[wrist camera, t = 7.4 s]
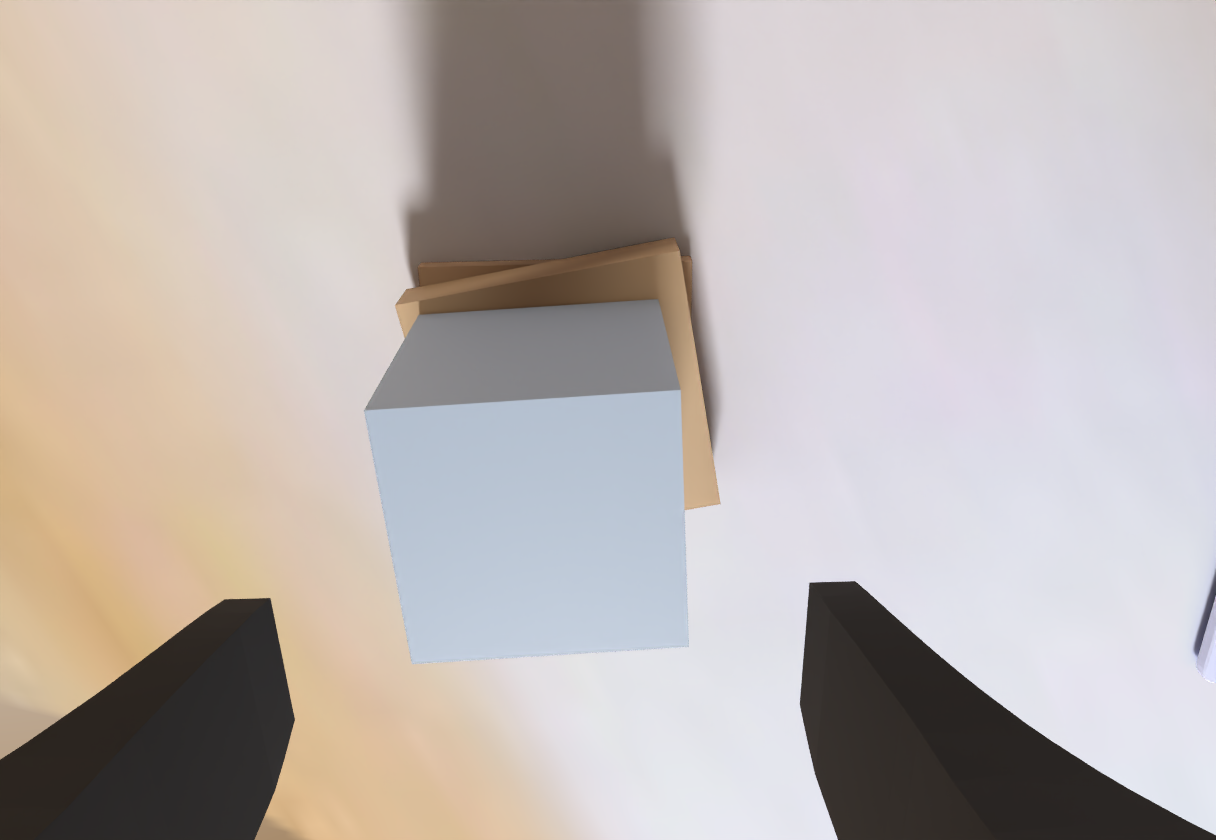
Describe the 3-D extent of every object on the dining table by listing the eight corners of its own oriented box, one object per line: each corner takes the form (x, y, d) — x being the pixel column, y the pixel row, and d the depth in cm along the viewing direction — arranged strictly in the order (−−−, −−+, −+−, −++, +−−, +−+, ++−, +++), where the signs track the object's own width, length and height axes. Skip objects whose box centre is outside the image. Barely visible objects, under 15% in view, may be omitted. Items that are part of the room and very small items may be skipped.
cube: (658, 299, 19) (680, 390, 14) (666, 508, 21) (688, 646, 16) (418, 314, 19) (364, 410, 14) (450, 522, 21) (411, 664, 16)
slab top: (674, 237, 20) (679, 250, 18) (713, 478, 22) (720, 503, 21) (405, 289, 20) (395, 305, 19) (473, 521, 22) (467, 548, 21)
